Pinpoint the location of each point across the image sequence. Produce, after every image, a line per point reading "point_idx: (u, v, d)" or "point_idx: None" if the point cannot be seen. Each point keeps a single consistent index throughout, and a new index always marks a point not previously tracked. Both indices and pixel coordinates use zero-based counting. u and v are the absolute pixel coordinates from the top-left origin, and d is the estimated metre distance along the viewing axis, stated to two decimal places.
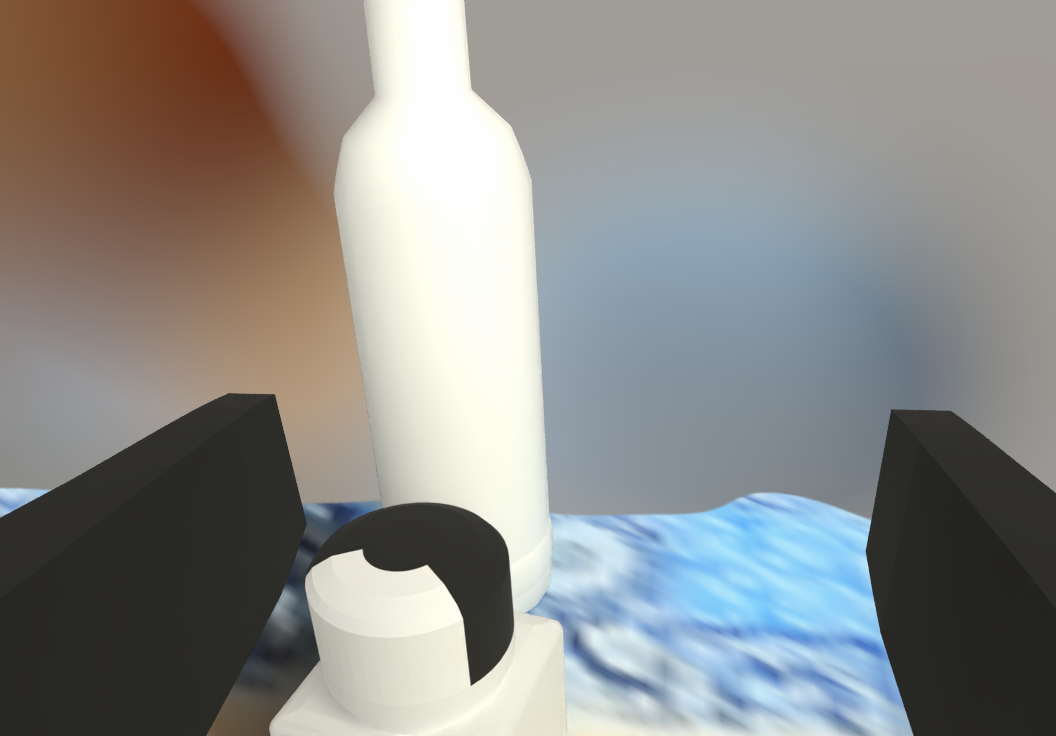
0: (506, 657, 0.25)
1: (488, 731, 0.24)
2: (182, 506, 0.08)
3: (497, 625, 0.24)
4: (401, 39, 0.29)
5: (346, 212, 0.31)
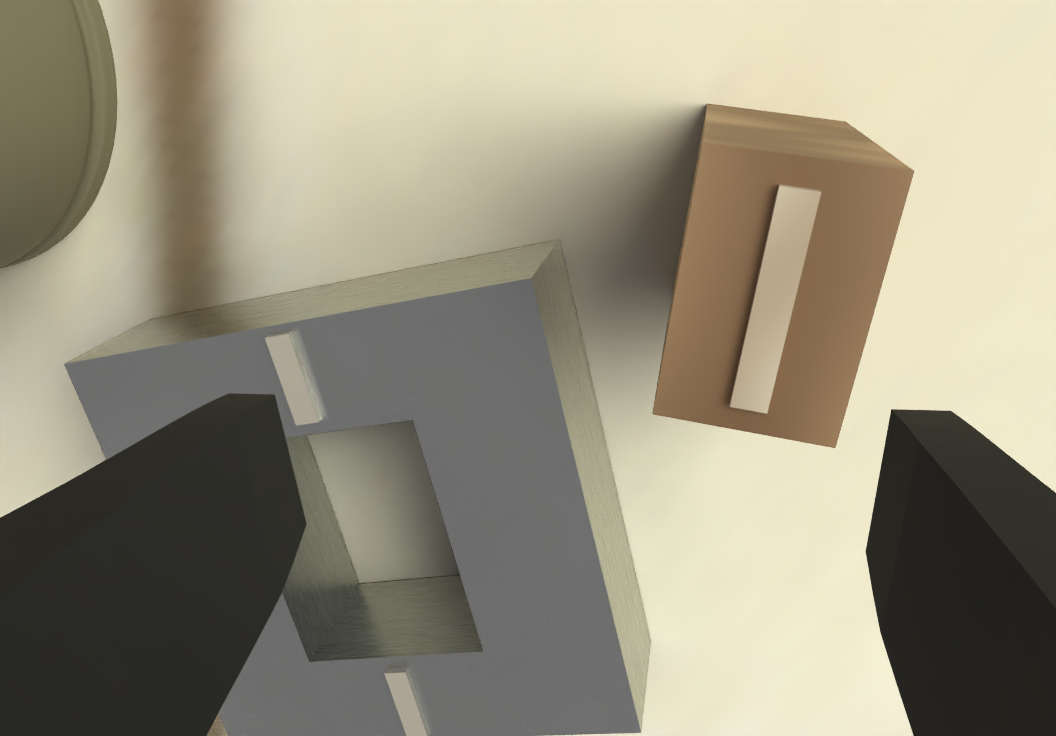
0: None
1: None
2: (182, 506, 0.08)
3: None
4: None
5: None
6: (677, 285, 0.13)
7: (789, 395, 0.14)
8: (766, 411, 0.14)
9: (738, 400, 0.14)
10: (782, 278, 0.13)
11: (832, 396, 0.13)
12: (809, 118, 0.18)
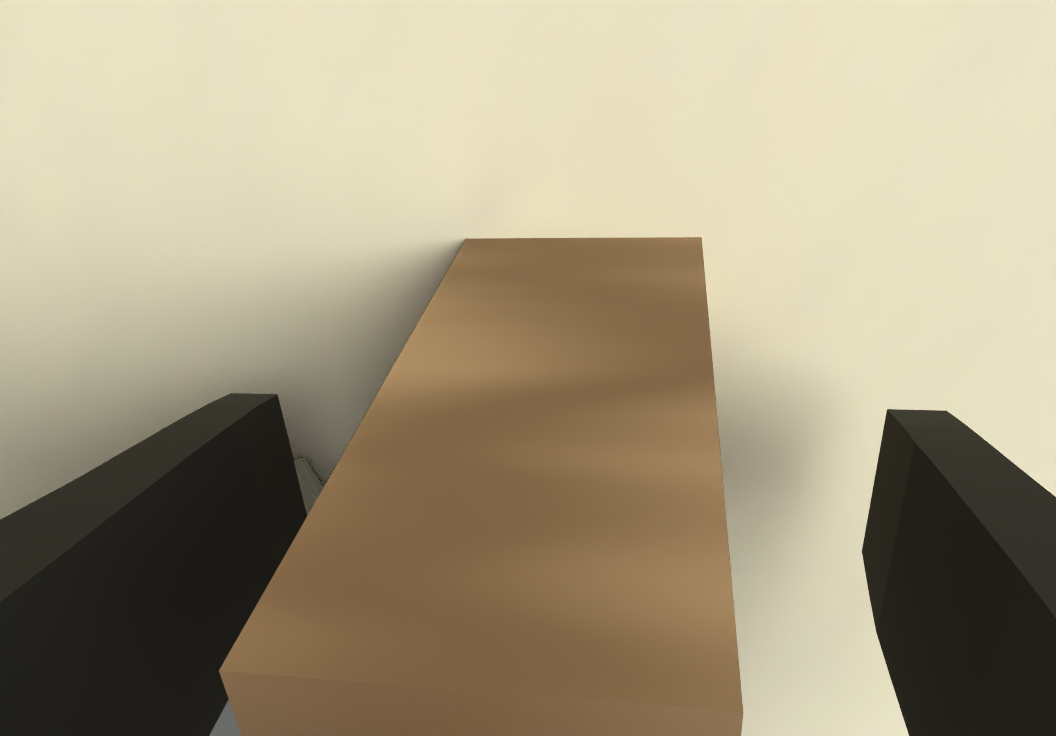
0: None
1: None
2: (185, 506, 0.08)
3: None
4: None
5: None
6: None
7: None
8: None
9: None
10: None
11: None
12: (635, 247, 0.10)
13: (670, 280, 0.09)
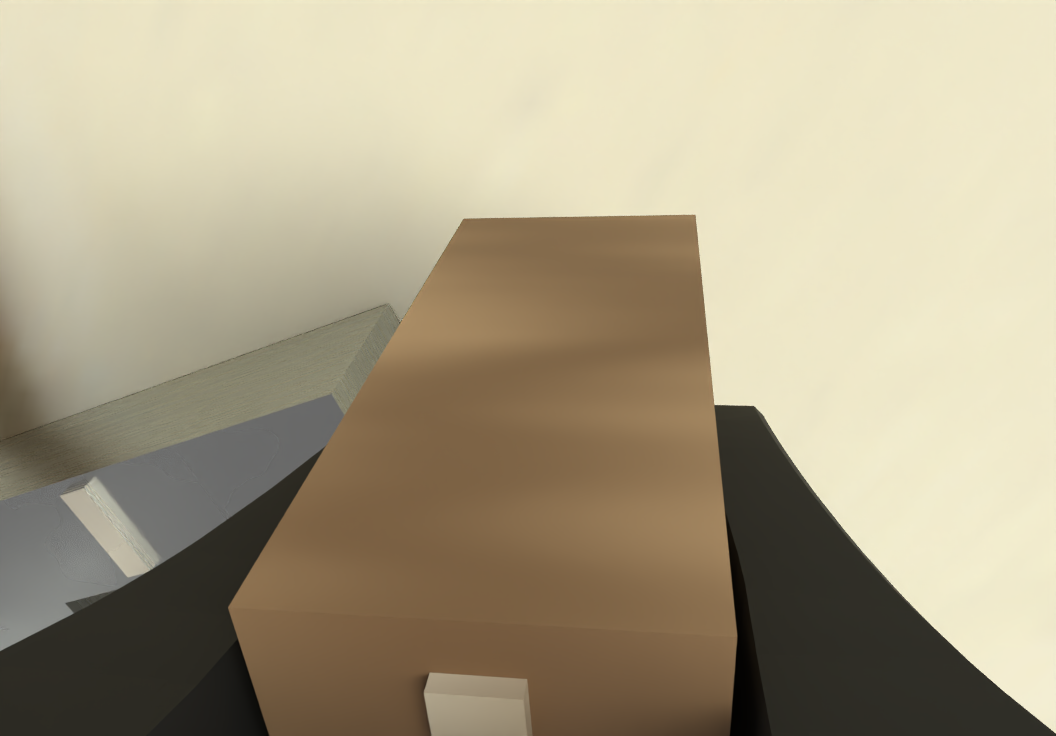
0: None
1: None
2: None
3: None
4: None
5: None
6: None
7: None
8: None
9: None
10: None
11: None
12: (630, 225, 0.11)
13: (665, 254, 0.10)
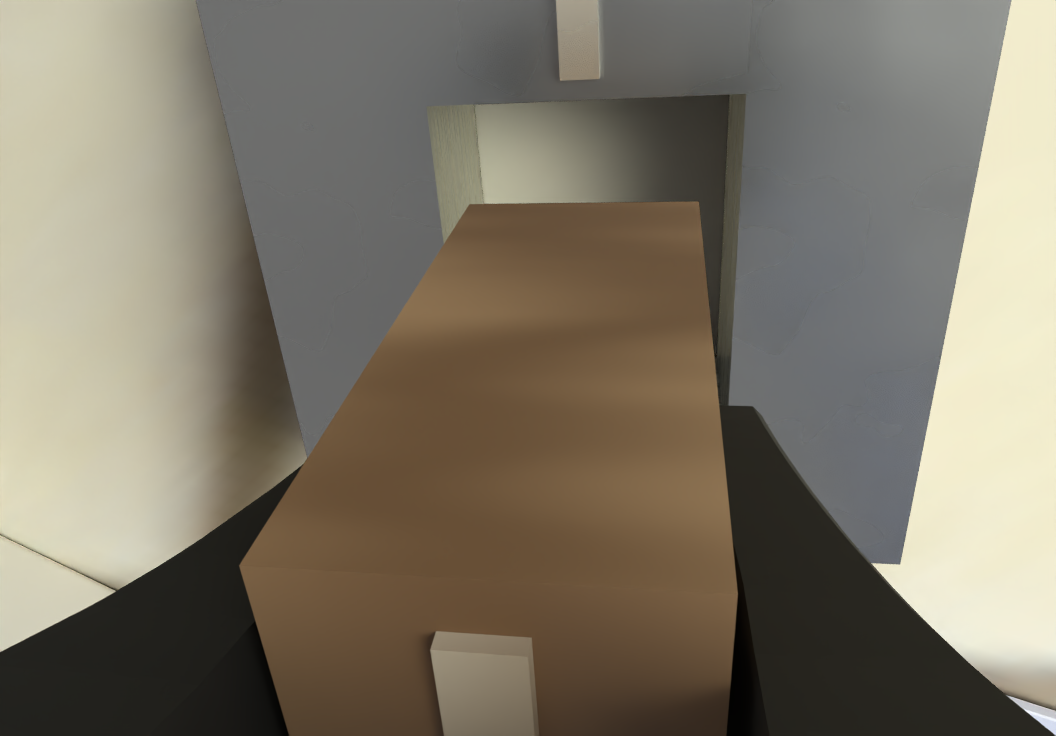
0: None
1: None
2: None
3: None
4: None
5: None
6: None
7: None
8: None
9: None
10: None
11: None
12: (634, 210, 0.11)
13: (668, 238, 0.10)
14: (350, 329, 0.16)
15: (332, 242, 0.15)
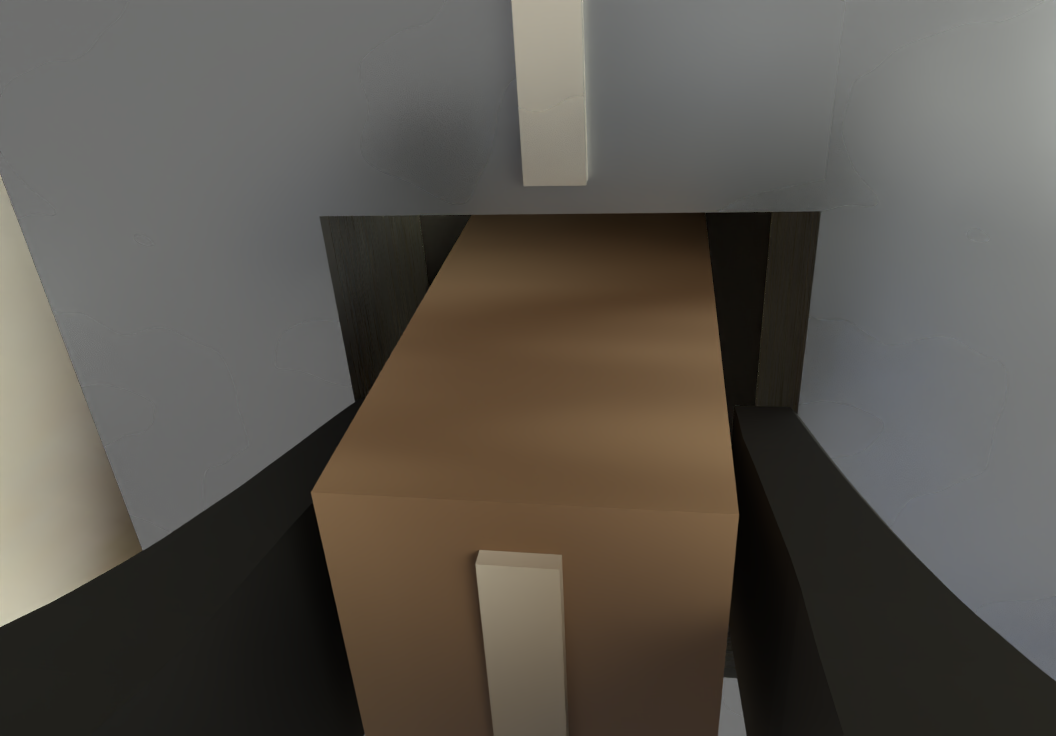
0: None
1: None
2: None
3: None
4: None
5: None
6: (358, 702, 0.07)
7: None
8: None
9: None
10: (532, 696, 0.07)
11: None
12: None
13: (674, 218, 0.11)
14: None
15: (193, 399, 0.10)
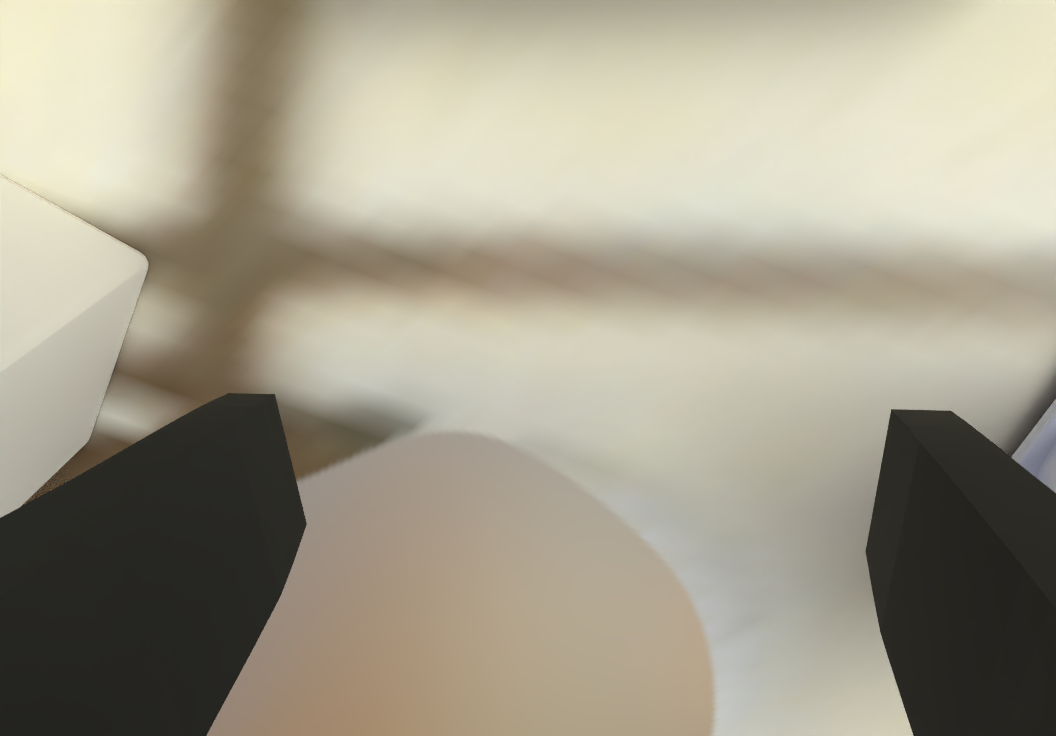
0: None
1: None
2: (182, 506, 0.08)
3: None
4: None
5: None
6: None
7: None
8: None
9: None
10: None
11: None
12: None
13: None
14: None
15: None
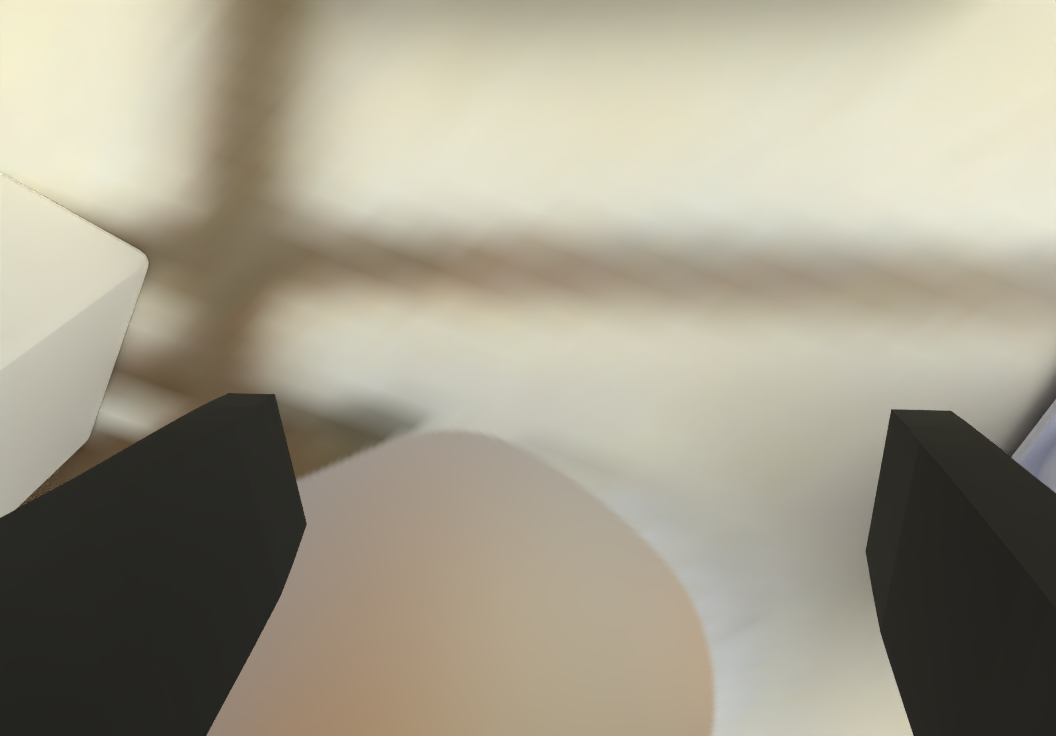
0: None
1: None
2: (182, 506, 0.08)
3: None
4: None
5: None
6: None
7: None
8: None
9: None
10: None
11: None
12: None
13: None
14: None
15: None
